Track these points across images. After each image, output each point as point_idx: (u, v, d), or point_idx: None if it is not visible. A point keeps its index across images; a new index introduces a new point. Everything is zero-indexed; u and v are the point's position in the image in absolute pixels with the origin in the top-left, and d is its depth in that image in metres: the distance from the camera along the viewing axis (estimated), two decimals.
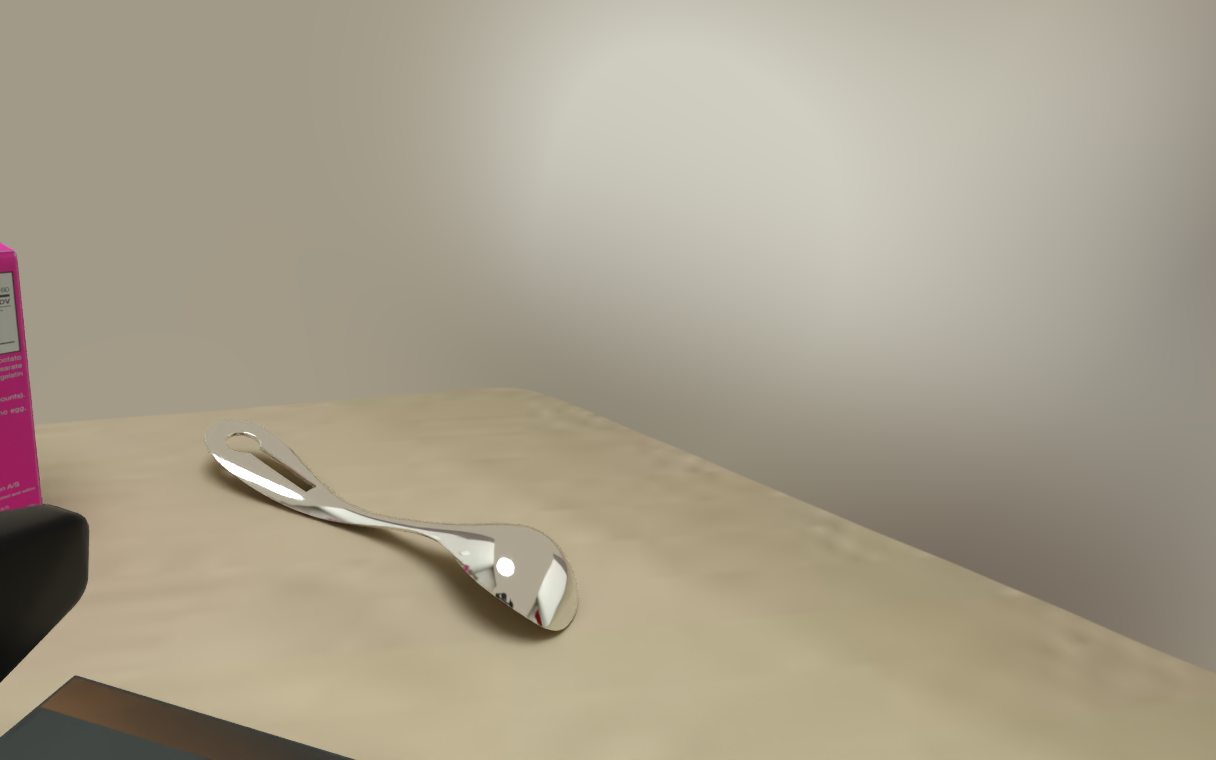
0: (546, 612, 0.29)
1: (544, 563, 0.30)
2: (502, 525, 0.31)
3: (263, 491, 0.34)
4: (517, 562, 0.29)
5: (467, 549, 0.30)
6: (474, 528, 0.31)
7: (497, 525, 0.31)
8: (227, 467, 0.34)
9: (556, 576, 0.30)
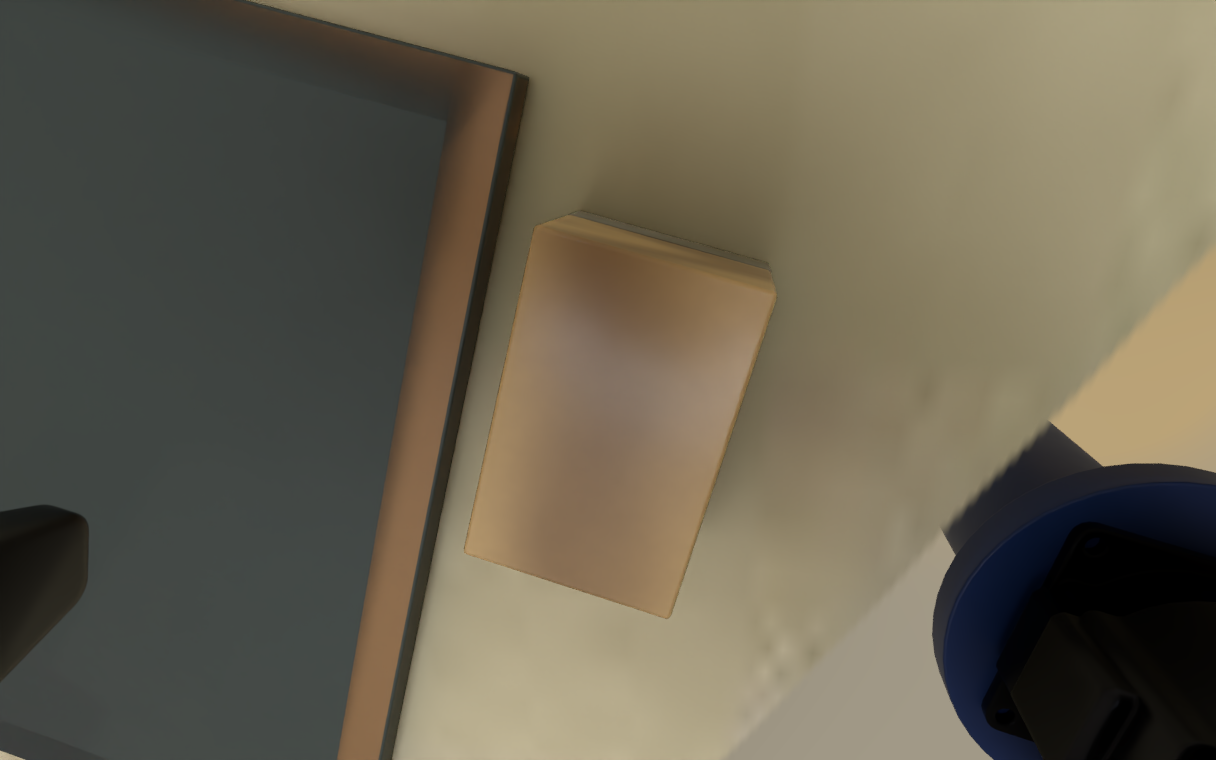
0: None
1: None
2: None
3: None
4: None
5: None
6: None
7: None
8: None
9: None
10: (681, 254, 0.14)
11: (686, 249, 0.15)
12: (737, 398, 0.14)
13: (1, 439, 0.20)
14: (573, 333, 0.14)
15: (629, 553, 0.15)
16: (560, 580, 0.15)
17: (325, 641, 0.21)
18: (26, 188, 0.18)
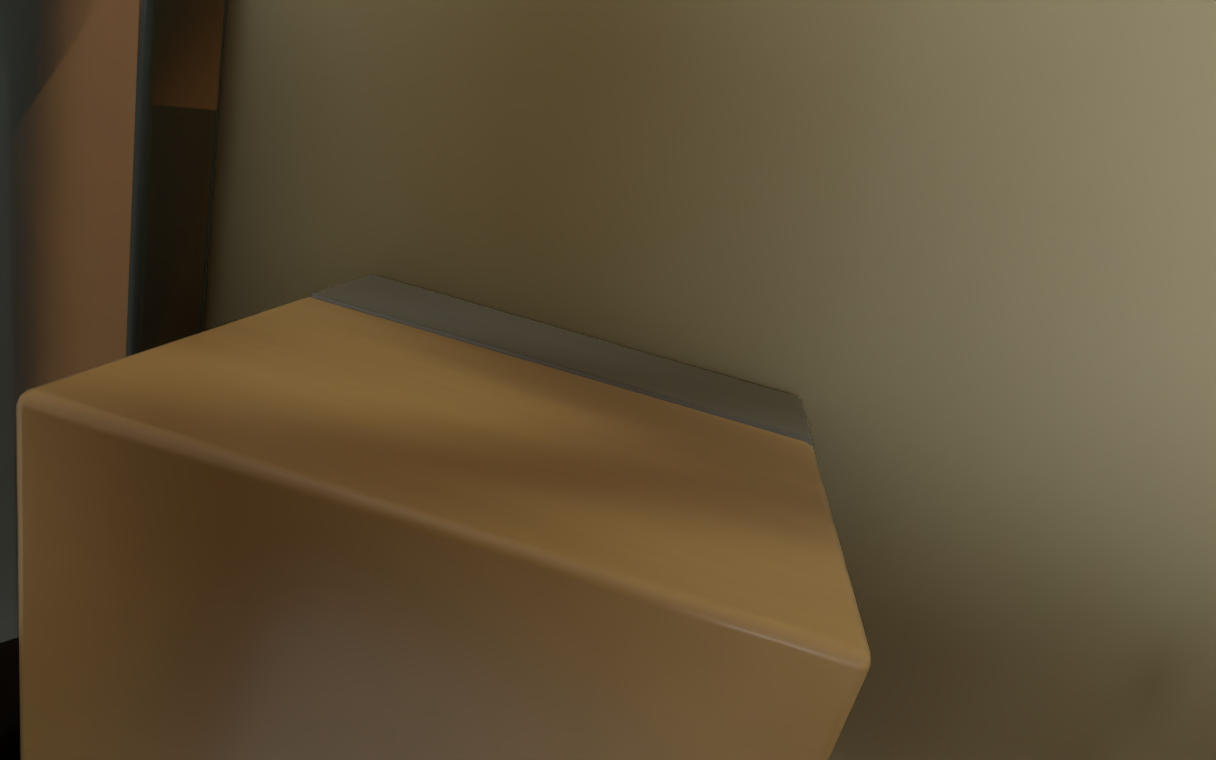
0: None
1: None
2: None
3: None
4: None
5: None
6: None
7: None
8: None
9: None
10: (563, 435, 0.05)
11: (591, 396, 0.06)
12: None
13: None
14: (194, 723, 0.04)
15: None
16: None
17: None
18: None
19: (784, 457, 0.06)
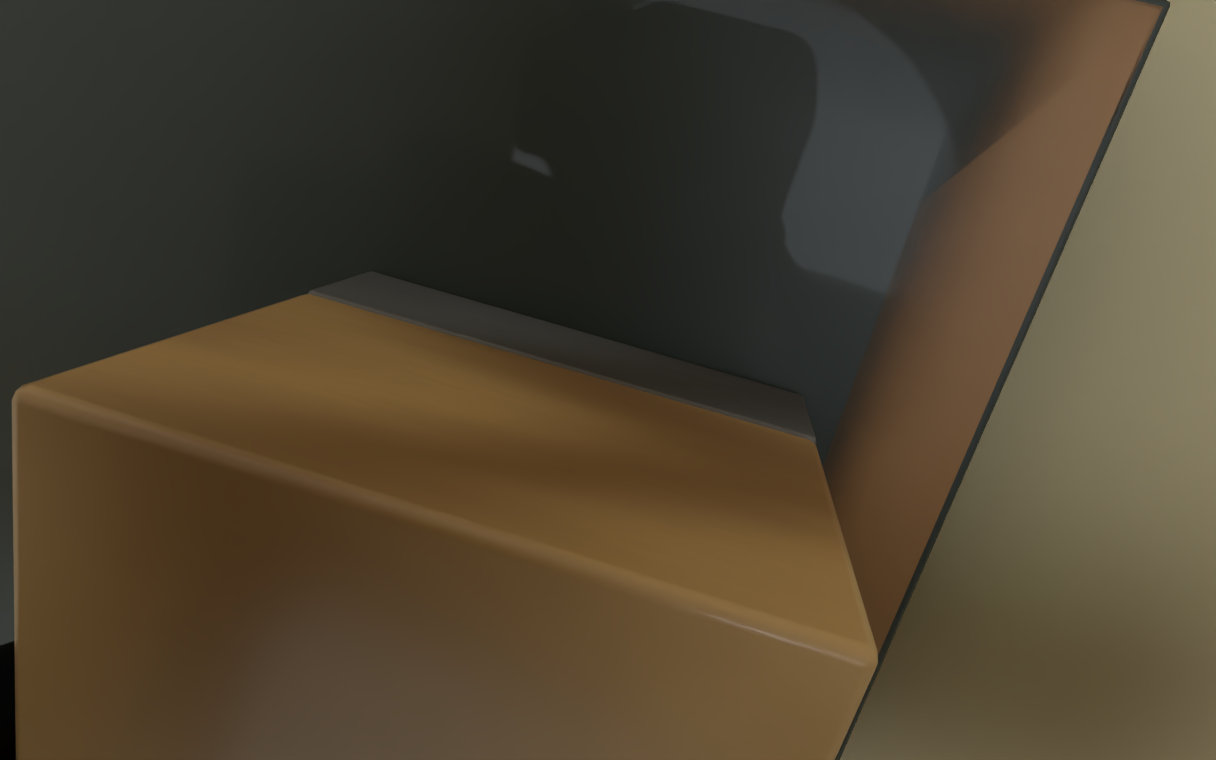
0: None
1: None
2: None
3: None
4: None
5: None
6: None
7: None
8: None
9: None
10: (565, 432, 0.05)
11: (593, 393, 0.06)
12: None
13: None
14: (192, 725, 0.04)
15: None
16: None
17: None
18: None
19: (787, 455, 0.06)
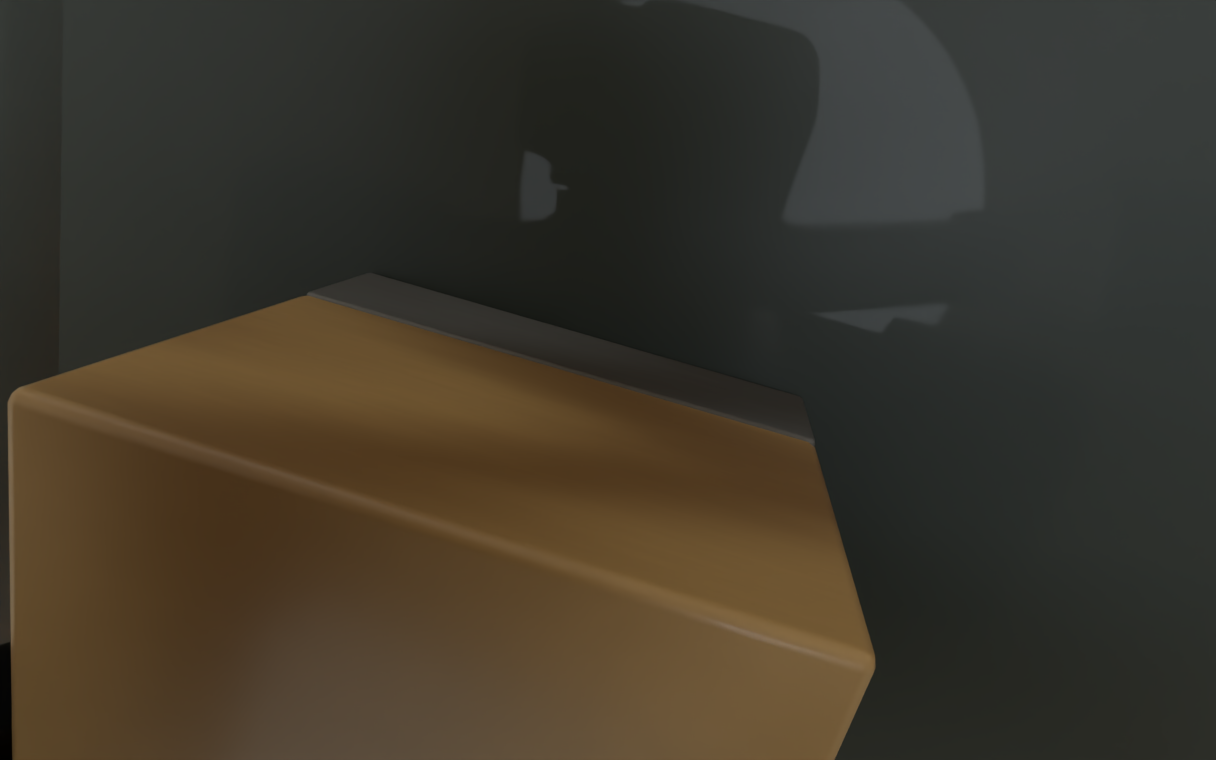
0: None
1: None
2: None
3: None
4: None
5: None
6: None
7: None
8: None
9: None
10: (563, 434, 0.05)
11: (592, 395, 0.06)
12: None
13: (282, 170, 0.07)
14: (191, 727, 0.04)
15: None
16: None
17: (1164, 725, 0.08)
18: None
19: (786, 457, 0.05)
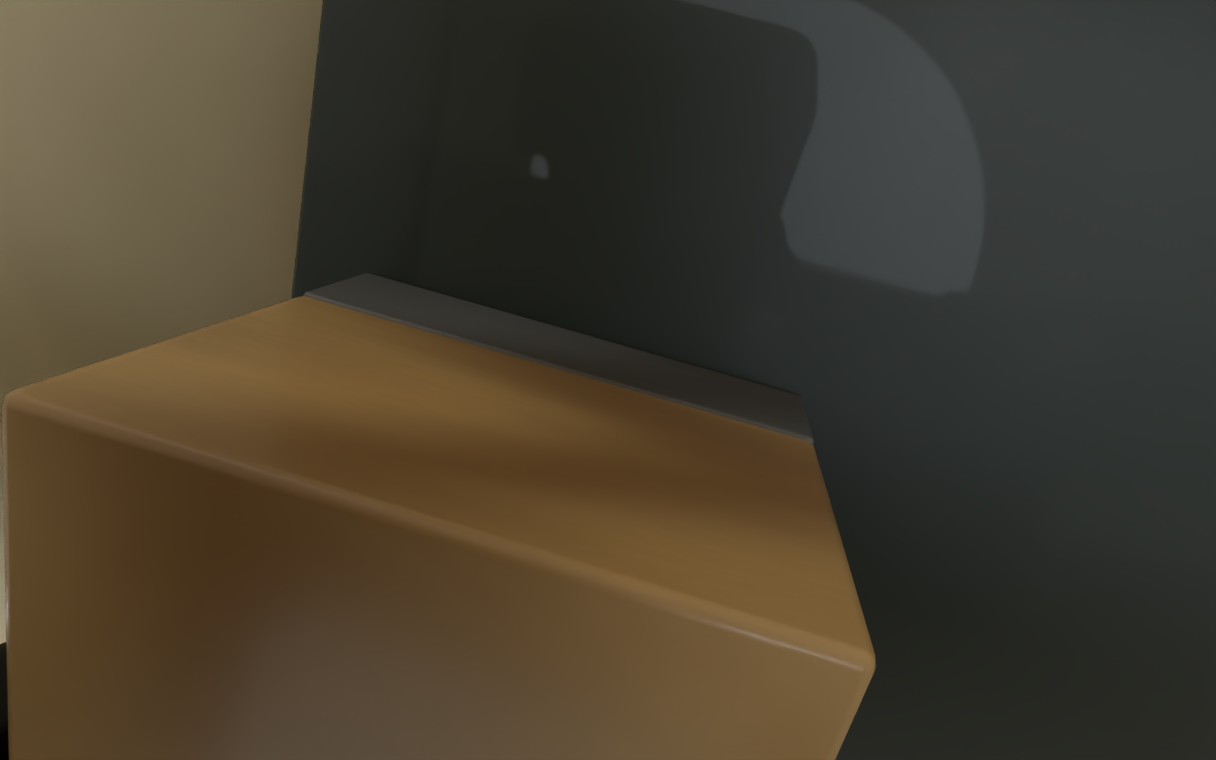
0: None
1: None
2: None
3: None
4: None
5: None
6: None
7: None
8: None
9: None
10: (561, 434, 0.05)
11: (590, 395, 0.06)
12: None
13: None
14: (186, 731, 0.04)
15: None
16: None
17: None
18: None
19: (785, 456, 0.05)
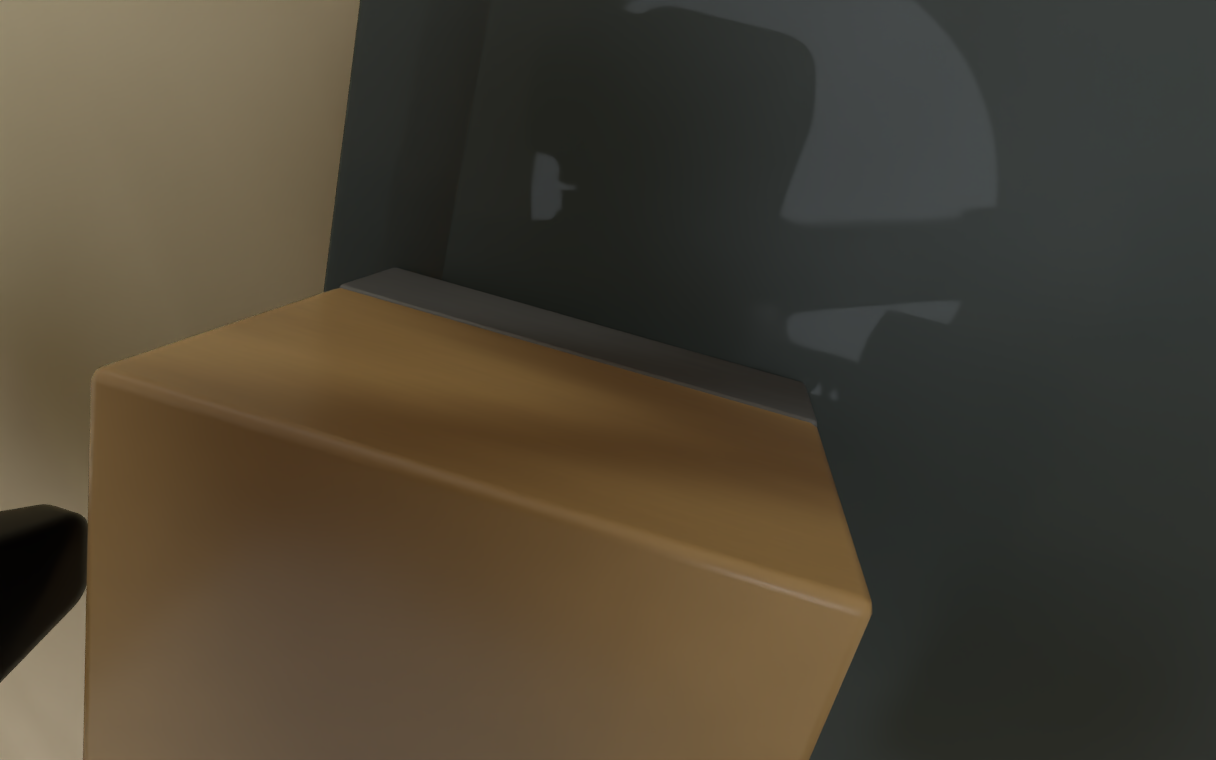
0: None
1: None
2: None
3: None
4: None
5: None
6: None
7: None
8: None
9: None
10: (585, 413, 0.05)
11: (609, 379, 0.06)
12: None
13: (714, 158, 0.07)
14: (250, 676, 0.05)
15: None
16: None
17: None
18: None
19: (790, 436, 0.06)
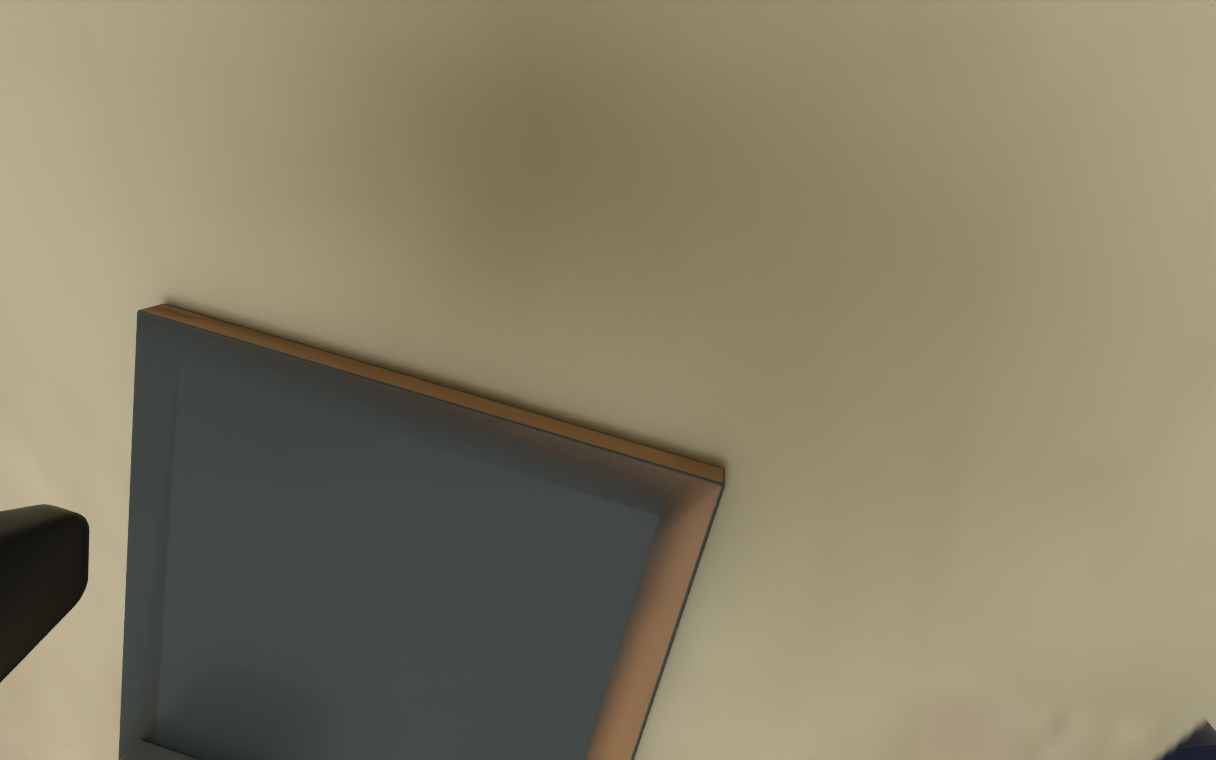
0: None
1: None
2: None
3: None
4: None
5: None
6: None
7: None
8: None
9: None
10: None
11: None
12: None
13: (228, 723, 0.23)
14: None
15: None
16: None
17: None
18: (273, 536, 0.21)
19: None
